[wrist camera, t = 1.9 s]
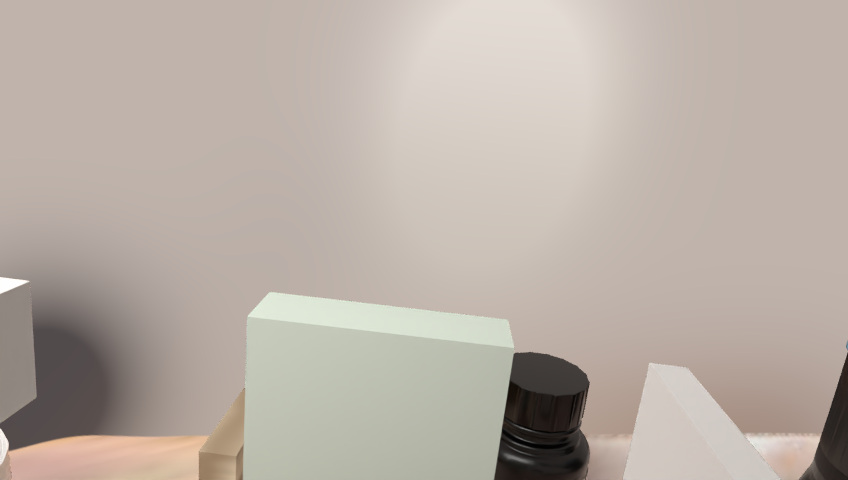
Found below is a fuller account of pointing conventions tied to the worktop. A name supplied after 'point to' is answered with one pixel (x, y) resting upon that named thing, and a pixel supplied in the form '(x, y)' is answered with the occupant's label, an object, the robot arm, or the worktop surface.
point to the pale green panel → (372, 391)
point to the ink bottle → (543, 421)
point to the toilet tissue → (4, 459)
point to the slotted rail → (225, 446)
